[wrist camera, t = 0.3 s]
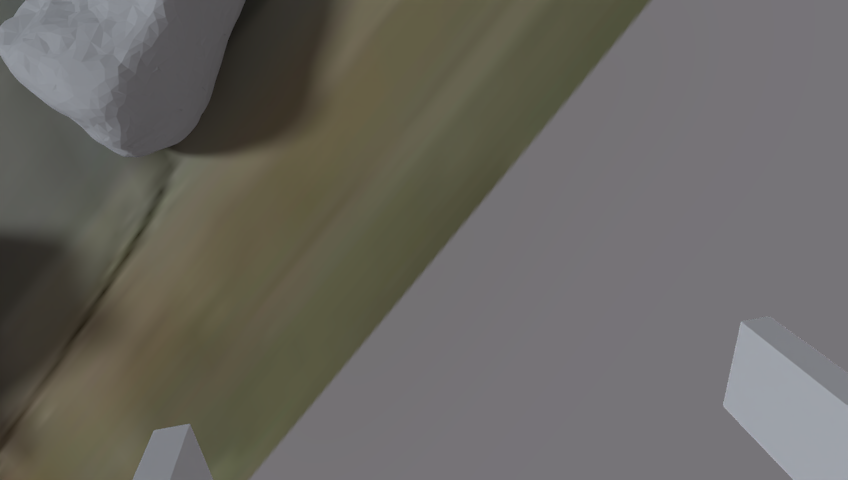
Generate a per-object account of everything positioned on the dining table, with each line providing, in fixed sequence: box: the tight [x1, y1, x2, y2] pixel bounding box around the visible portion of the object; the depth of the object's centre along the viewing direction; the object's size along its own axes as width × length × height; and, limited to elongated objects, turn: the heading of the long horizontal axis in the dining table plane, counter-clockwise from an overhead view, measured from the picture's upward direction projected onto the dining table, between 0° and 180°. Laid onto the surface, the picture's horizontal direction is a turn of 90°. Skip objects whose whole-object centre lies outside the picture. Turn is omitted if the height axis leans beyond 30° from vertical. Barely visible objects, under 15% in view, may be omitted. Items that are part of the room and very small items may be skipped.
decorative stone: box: [0, 0, 245, 157], centre depth 28 cm, size 17×10×10 cm
